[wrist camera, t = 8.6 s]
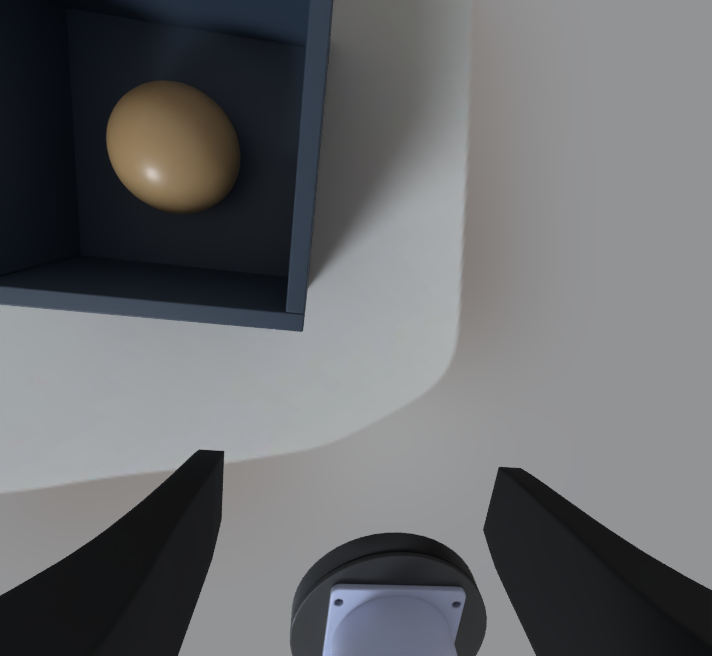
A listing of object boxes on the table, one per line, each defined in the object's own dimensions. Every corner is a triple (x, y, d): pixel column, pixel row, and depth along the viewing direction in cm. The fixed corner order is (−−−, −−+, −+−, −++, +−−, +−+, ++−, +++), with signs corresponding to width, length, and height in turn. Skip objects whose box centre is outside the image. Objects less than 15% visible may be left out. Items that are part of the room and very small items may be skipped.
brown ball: (245, 217, 19) (227, 224, 14) (136, 205, 18) (84, 208, 14) (250, 104, 17) (232, 77, 13) (134, 87, 17) (76, 52, 13)
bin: (307, 289, 20) (302, 332, 14) (72, 266, 19) (-44, 301, 13) (330, 37, 17) (336, -47, 11) (54, -9, 16) (-108, -132, 10)
